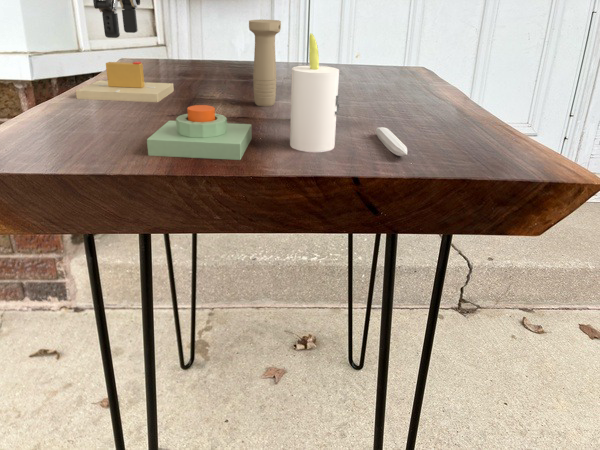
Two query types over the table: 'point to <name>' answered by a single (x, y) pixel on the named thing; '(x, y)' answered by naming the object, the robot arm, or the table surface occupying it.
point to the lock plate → (125, 92)
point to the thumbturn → (125, 74)
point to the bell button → (201, 113)
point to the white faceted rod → (391, 141)
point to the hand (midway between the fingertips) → (122, 34)
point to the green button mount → (200, 139)
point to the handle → (264, 60)
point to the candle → (314, 104)
